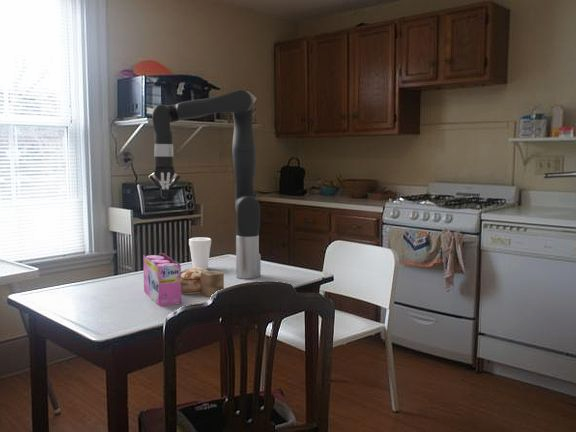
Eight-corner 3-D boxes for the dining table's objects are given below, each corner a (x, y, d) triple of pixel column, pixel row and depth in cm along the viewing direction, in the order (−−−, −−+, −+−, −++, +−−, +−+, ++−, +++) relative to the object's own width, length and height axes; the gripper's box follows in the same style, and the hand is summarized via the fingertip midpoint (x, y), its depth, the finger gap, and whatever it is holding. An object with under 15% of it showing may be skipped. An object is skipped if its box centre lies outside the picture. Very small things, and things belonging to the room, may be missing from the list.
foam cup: (209, 270, 233) (208, 241, 231) (187, 270, 233) (187, 240, 231) (212, 266, 242) (212, 237, 241) (191, 265, 242) (191, 237, 241)
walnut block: (215, 291, 199) (215, 270, 198) (223, 295, 194) (223, 273, 193) (201, 294, 195) (200, 272, 194) (208, 297, 190) (208, 275, 189)
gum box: (142, 290, 200) (141, 253, 199) (163, 287, 204) (162, 252, 202) (158, 306, 179) (158, 266, 178) (182, 303, 183) (181, 264, 181)
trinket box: (209, 283, 211) (208, 263, 210) (217, 293, 197) (217, 271, 196) (174, 286, 207) (174, 265, 206) (180, 296, 193) (180, 274, 192)
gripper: (149, 155, 211) (150, 199, 213) (182, 155, 217) (183, 198, 219) (145, 155, 217) (146, 198, 220) (177, 155, 223) (178, 197, 225)
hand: (164, 198), depth 219 cm, fingers closed
